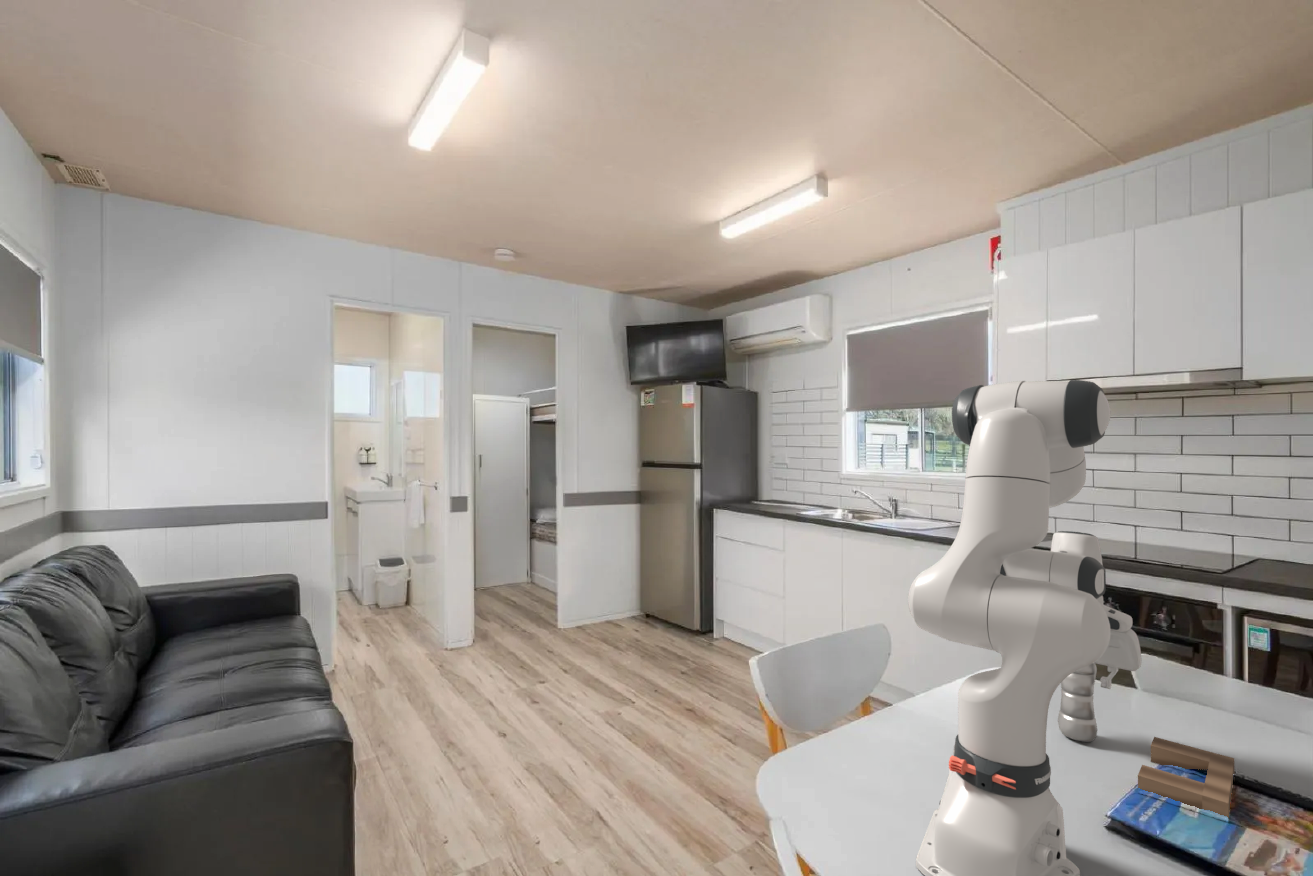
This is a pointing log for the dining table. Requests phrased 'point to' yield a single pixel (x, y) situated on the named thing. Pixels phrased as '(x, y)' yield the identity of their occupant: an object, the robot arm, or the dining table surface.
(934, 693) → the dining table surface
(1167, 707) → the dining table surface
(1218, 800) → the notched board
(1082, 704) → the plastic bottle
